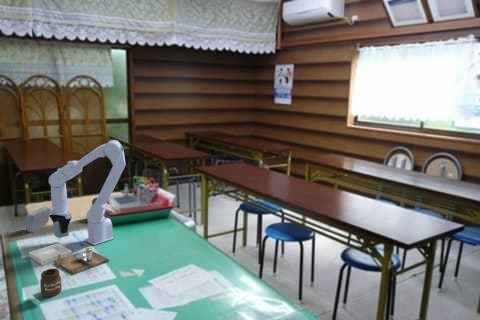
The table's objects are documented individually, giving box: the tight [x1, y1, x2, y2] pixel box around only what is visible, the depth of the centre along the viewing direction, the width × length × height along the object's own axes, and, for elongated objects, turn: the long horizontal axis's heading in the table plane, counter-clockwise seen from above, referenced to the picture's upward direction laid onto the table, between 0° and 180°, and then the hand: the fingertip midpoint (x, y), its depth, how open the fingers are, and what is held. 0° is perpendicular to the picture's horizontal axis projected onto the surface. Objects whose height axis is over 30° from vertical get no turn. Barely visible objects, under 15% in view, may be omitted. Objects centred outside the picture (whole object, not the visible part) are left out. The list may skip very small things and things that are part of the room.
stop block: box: [53, 221, 70, 239], centre depth 156 cm, size 4×4×6 cm
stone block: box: [25, 206, 51, 233], centre depth 171 cm, size 12×5×10 cm, turn 168°
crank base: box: [53, 249, 110, 275], centre depth 140 cm, size 14×14×1 cm
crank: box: [75, 247, 93, 264], centre depth 138 cm, size 8×4×6 cm, turn 52°
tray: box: [28, 243, 73, 266], centre depth 144 cm, size 11×11×2 cm
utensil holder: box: [38, 254, 62, 298], centre depth 117 cm, size 6×6×12 cm
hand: (61, 231), depth 156 cm, fingers closed on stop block, 4 cm apart
